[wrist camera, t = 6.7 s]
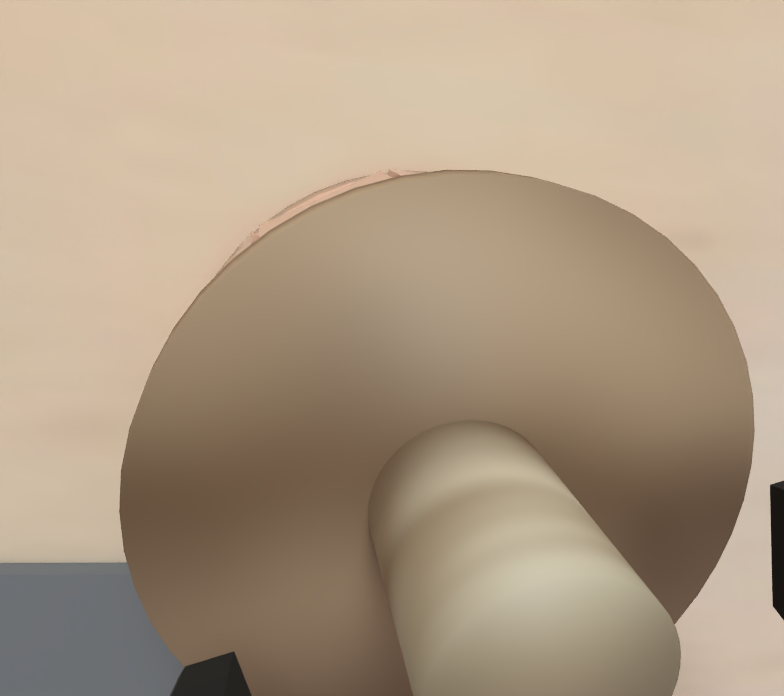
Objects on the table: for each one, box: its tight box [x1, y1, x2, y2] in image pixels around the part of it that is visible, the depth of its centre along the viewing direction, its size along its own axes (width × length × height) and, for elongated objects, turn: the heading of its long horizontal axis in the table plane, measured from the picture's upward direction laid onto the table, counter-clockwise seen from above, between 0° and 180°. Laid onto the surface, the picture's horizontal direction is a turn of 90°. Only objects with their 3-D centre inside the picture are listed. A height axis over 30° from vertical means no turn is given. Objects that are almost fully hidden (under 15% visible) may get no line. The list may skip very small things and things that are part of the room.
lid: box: [119, 170, 754, 696], centre depth 10 cm, size 11×11×5 cm
